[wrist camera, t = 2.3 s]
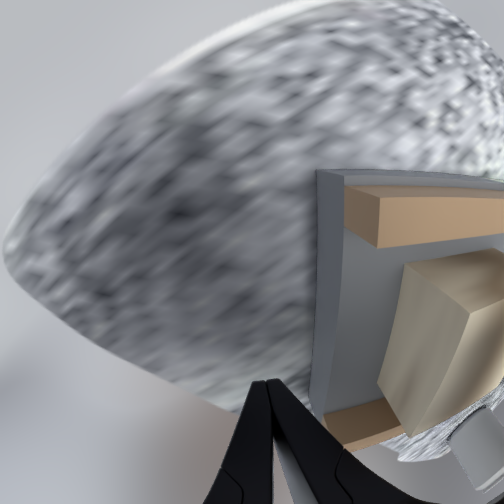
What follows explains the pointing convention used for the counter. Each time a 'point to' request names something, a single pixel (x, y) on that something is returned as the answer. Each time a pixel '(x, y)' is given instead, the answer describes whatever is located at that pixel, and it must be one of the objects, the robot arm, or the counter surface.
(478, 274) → the maple block
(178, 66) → the counter surface
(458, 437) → the can
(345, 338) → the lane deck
